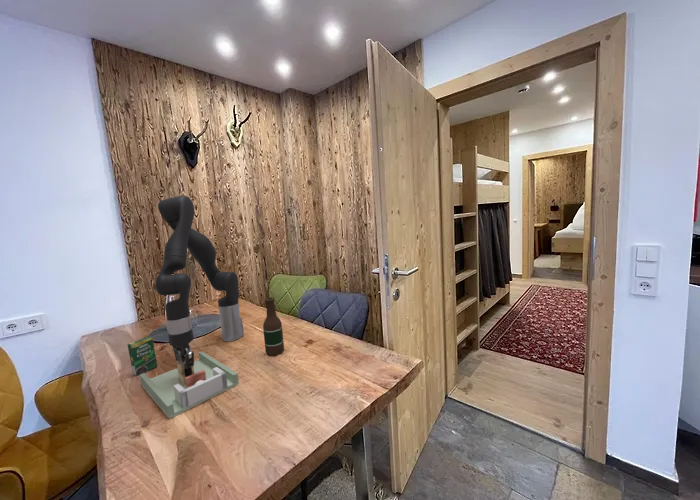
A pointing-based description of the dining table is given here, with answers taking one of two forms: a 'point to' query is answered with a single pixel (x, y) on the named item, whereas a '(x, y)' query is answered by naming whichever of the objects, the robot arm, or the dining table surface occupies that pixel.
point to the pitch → (163, 384)
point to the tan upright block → (190, 379)
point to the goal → (200, 389)
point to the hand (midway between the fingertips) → (186, 374)
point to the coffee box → (142, 355)
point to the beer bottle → (272, 330)
